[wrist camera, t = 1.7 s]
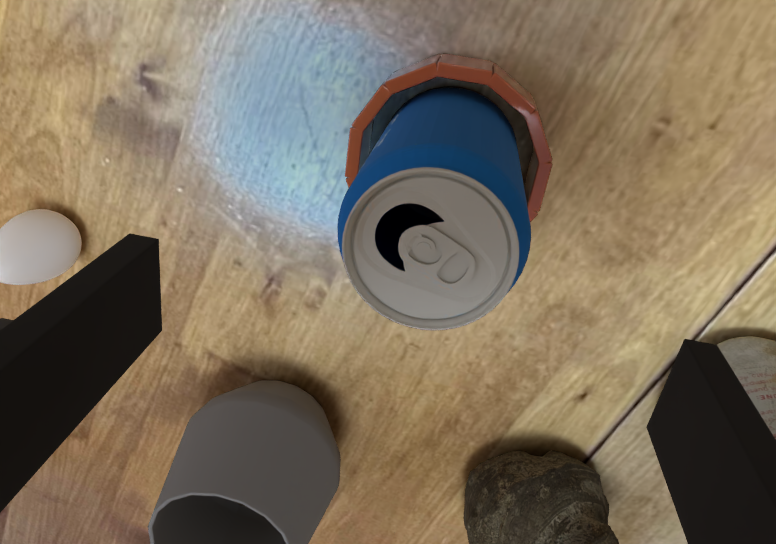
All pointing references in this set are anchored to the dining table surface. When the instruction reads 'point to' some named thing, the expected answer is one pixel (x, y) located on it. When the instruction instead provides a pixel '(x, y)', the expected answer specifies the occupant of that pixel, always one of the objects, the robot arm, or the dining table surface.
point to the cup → (250, 470)
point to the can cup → (467, 72)
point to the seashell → (536, 501)
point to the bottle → (755, 372)
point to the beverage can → (437, 213)
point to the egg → (37, 247)
